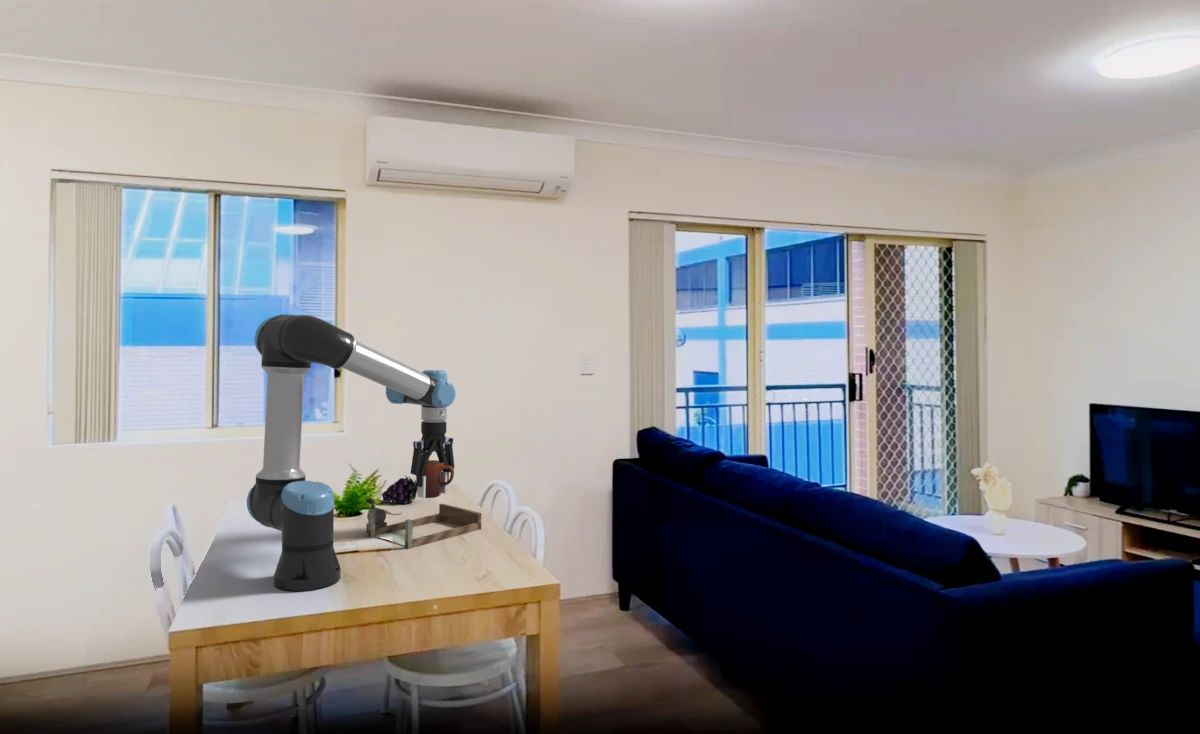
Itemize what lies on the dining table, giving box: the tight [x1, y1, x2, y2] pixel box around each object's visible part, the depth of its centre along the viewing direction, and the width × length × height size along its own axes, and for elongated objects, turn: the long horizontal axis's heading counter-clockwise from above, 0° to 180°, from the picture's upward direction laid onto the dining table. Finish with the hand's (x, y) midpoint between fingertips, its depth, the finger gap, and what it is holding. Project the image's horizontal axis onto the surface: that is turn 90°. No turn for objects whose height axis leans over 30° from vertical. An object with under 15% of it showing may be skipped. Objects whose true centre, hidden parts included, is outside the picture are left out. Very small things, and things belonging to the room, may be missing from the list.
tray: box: [365, 497, 482, 550], centre depth 222 cm, size 28×25×10 cm
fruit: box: [381, 475, 418, 505], centre depth 258 cm, size 10×11×15 cm
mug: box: [416, 459, 455, 499], centre depth 222 cm, size 12×9×10 cm
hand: (432, 494), depth 222 cm, fingers closed on mug, 8 cm apart
